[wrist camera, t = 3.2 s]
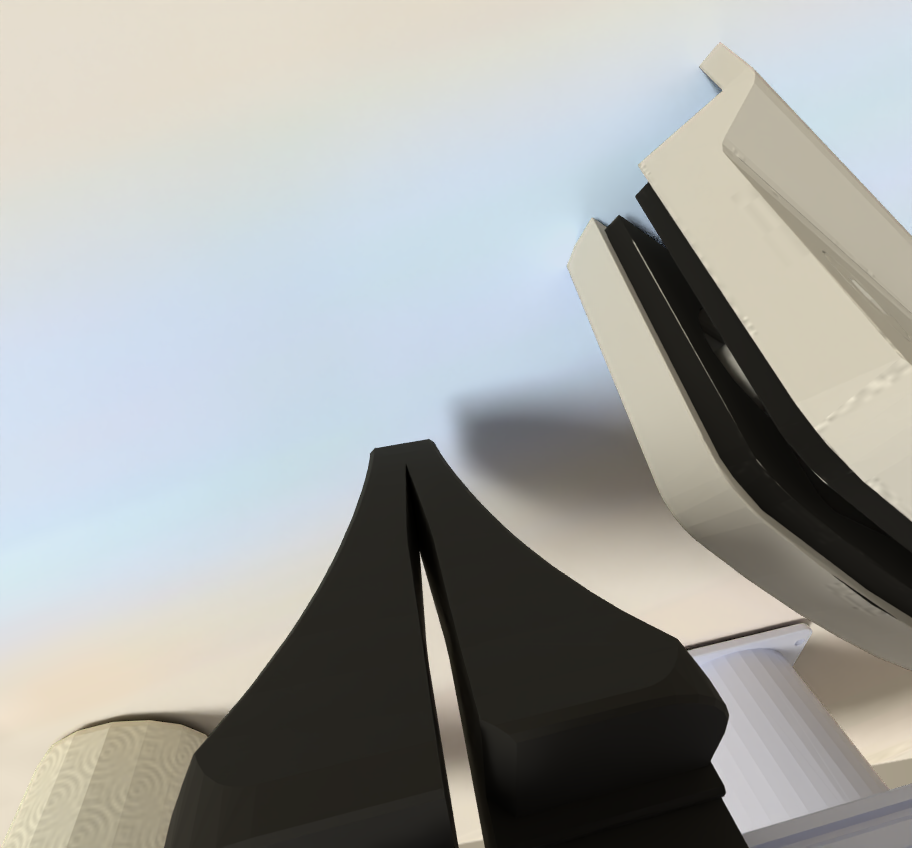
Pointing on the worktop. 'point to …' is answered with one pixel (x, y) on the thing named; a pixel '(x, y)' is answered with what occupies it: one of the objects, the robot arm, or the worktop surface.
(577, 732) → the robot arm
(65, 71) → the worktop surface
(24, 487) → the worktop surface
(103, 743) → the paper towel roll
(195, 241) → the worktop surface
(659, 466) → the beige piece
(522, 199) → the worktop surface
